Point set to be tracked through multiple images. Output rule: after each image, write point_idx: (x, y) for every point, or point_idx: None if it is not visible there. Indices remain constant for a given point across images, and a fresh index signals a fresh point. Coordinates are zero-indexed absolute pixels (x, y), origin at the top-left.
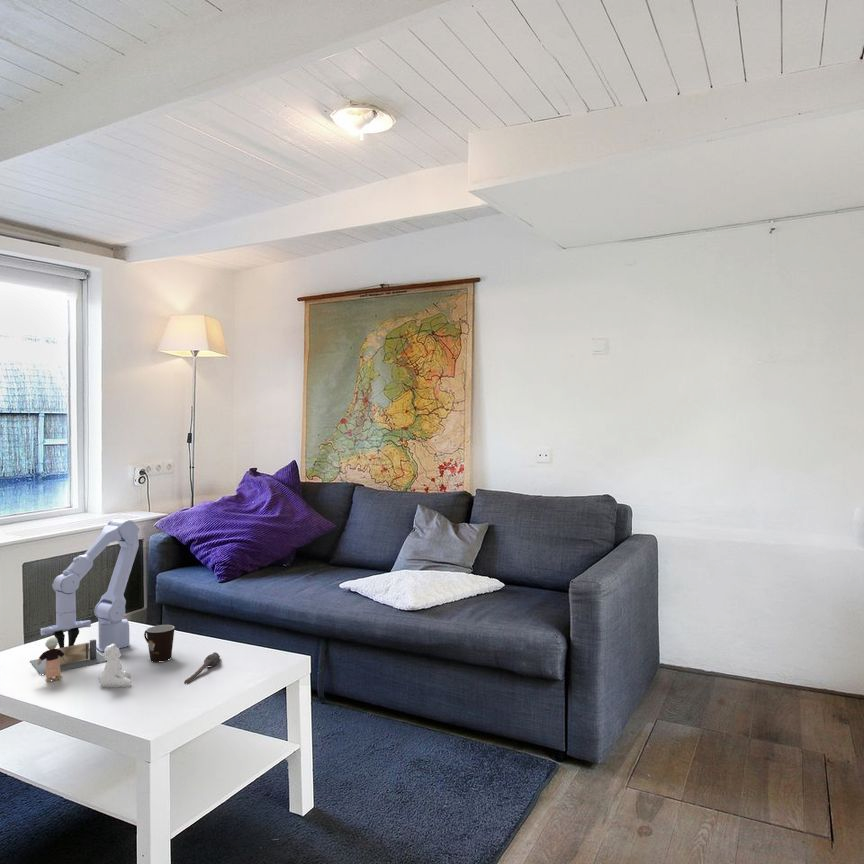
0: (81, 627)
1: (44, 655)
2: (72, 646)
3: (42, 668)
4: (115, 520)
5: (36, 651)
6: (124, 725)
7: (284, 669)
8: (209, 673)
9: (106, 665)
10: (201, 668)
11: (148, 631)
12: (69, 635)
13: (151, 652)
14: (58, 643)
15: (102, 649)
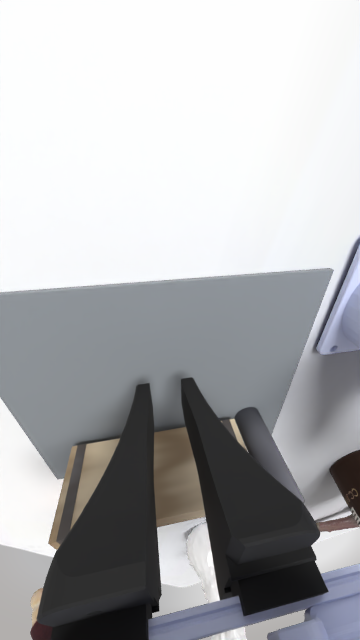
0: (342, 577)
1: (50, 638)
2: (182, 520)
3: (54, 438)
4: None
5: None
6: (173, 580)
7: None
8: (333, 516)
9: (205, 596)
10: (331, 530)
11: None
12: (211, 510)
13: (346, 501)
14: (120, 446)
15: (334, 341)
